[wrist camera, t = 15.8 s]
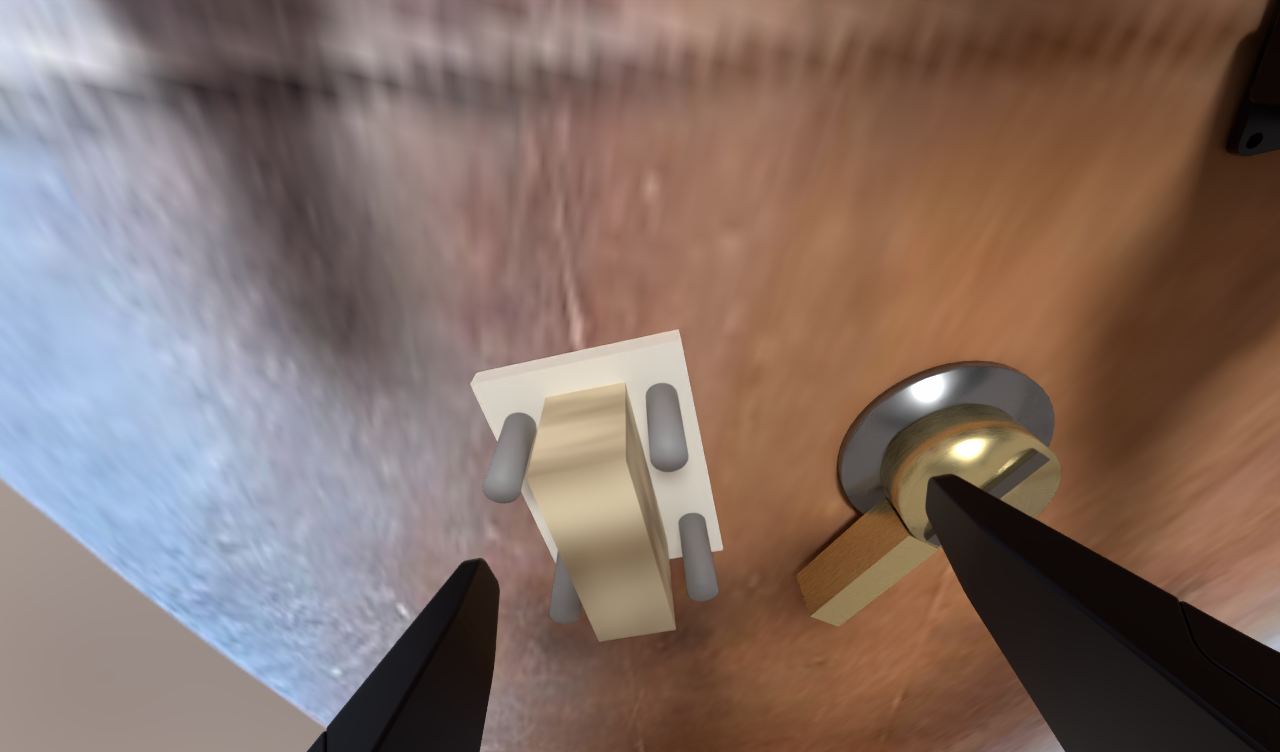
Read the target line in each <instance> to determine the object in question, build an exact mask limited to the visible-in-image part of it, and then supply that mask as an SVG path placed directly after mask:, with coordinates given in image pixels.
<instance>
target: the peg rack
mask: <svg viewBox="0 0 1280 752" xmlns="http://www.w3.org/2000/svg"><path fill="white" fill-rule="evenodd" d="M622 382H625V384H626V387H627V391H628V395H629V399H630V402H631V406H632V410H633V413H634V417H635V421H636V425H637V428H638V432H639V436H640V440H641V443H642V447H643V451H644V455H645V458H646V462H647V466H648V470H649V473H650V477H651V481H652V484H653V488H654V492H655V496H656V499H657V503H658V507H659V511H660V514H661V518H662V522H663V526H664V529H665V533H666V537H667V543H668V553H669V559H673V558H679V557H683V563H684V571H685V579H686V587H687V594H688V596H689V597H690V598H691V599H692V600H695V601H708V600H711V599H713V598H714V597H716V595H717V594H718V592H719V589H718V584H717V579H716V573H715V568H714V563H713V557H712V552H714V551H719V550H723V545H722V540H721V535H720V530H719V525H718V521H717V516H716V511H715V506H714V501H713V496H712V491H711V486H710V481H709V476H708V471H707V466H706V461H705V456H704V451H703V446H702V441H701V436H700V431H699V426H698V421H697V416H696V412H695V407H694V402H693V397H692V392H691V387H690V382H689V377H688V372H687V367H686V362H685V357H684V352H683V347H682V342H681V338H680V333H679V329H677V330H673V331H668V332H663V333H659V334H654V335H649V336H645V337H640V338H635V339H631V340H626V341H621V342H617V343H612V344H607V345H603V346H598V347H593V348H589V349H584V350H579V351H575V352H570V353H565V354H561V355H556V356H551V357H547V358H542V359H538V360H533V361H528V362H524V363H519V364H514V365H510V366H505V367H500V368H496V369H491V370H486V371H482V372H477V373H476V374H475V376H474V378H473V380H472V382H471V384H470V385H471V387H472V389H473V392H474V394H475V396H476V398H477V400H478V402H479V404H480V406H481V408H482V410H483V412H484V415H485V417H486V419H487V421H488V423H489V425H490V427H491V429H492V431H493V433H494V435H495V438H496V440H497V445H496V448H495V451H494V454H493V457H492V460H491V463H490V466H489V469H488V471H487V474H486V477H485V480H484V483H483V487H482V489H483V492H484V494H485V496H486V497H487V498H489V499H490V500H492V501H494V502H497V503H510V502H513V501H515V500H516V499H517V498H518V497H519V495H520V492H522V494H523V496H524V498H525V500H526V502H527V504H528V507H529V509H530V511H531V513H532V515H533V517H534V519H535V521H536V523H537V525H538V528H539V530H540V532H541V534H542V536H543V538H544V540H545V542H546V544H547V546H548V548H549V551H550V553H551V555H552V557H553V559H554V561H555V563H556V567H555V575H554V582H553V590H552V597H551V605H550V612H549V616H550V618H551V619H552V620H553V621H555V622H557V623H561V624H570V623H573V622H575V621H577V620H578V619H579V617H580V610H581V601H580V598H579V596H578V594H577V592H576V589H575V587H574V585H573V583H572V580H571V578H570V576H569V574H568V571H567V569H566V567H565V565H564V562H563V560H562V558H561V556H560V553H559V551H558V549H557V547H556V544H555V542H554V540H553V538H552V535H551V533H550V531H549V529H548V526H547V524H546V522H545V520H544V517H543V515H542V513H541V511H540V508H539V506H538V504H537V502H536V499H535V497H534V495H533V493H532V490H531V488H530V486H529V484H528V481H527V479H526V477H527V473H528V469H529V465H530V461H531V456H532V452H533V448H534V444H535V439H536V435H537V431H538V427H539V422H540V418H541V414H542V410H543V406H544V401H545V398H546V397H551V396H556V395H561V394H566V393H571V392H576V391H581V390H586V389H591V388H596V387H602V386H607V385H612V384H617V383H622Z"/></svg>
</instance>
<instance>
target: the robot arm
mask: <svg viewBox="0 0 1280 752" xmlns="http://www.w3.org/2000/svg"><path fill="white" fill-rule="evenodd" d="M1249 138H1250V139H1249ZM1248 139H1249V140H1248ZM1247 141H1248V142H1247ZM1278 149H1280V0H1279V1H1278V3H1277V6H1276V9H1275V12H1274V15H1273V17H1272V20H1271V23H1270V26H1269V28H1268V31H1267V34H1266V37H1265V39H1264V42H1263V45H1262V48H1261V50H1260V53H1259V56H1258V59H1257V61H1256V64H1255V67H1254V70H1253V72H1252V75H1251V78H1250V81H1249V83H1248V86H1247V89H1246V92H1245V95H1244V97H1243V100H1242V103H1241V106H1240V108H1239V111H1238V114H1237V117H1236V119H1235V122H1234V125H1233V128H1232V130H1231V133H1230V136H1229V139H1228V141H1227V146H1226V150H1227V153H1229V154H1231V155H1237V156H1251V155H1256V154H1260V153H1265V152H1269V151H1274V150H1278ZM925 510H926V514H927V517H928V519H929V522H930V524H931V526H932V528H933V530H934V532H935V534H936V536H937V538H938V540H939V542H940V544H941V546H942V548H943V550H944V552H945V554H946V556H947V558H948V560H949V562H950V564H951V566H952V568H953V570H954V572H955V574H956V576H957V578H958V580H959V582H960V584H961V586H962V588H963V590H964V592H965V594H966V595H967V597H968V599H969V600H970V602H971V604H972V605H973V607H974V608H975V610H976V612H977V613H978V615H979V616H980V618H981V619H982V621H983V623H984V624H985V626H986V627H987V629H988V631H989V632H990V634H991V635H992V637H993V638H994V640H995V642H996V643H997V645H998V646H999V648H1000V649H1001V651H1002V653H1003V654H1004V656H1005V657H1006V659H1007V661H1008V662H1009V664H1010V665H1011V667H1012V668H1013V670H1014V672H1015V673H1016V675H1017V676H1018V678H1019V679H1020V681H1021V683H1022V684H1023V686H1024V687H1025V689H1026V691H1027V692H1028V694H1029V695H1030V697H1031V698H1032V700H1033V702H1034V703H1035V705H1036V706H1037V708H1038V710H1039V711H1040V713H1041V714H1042V716H1043V717H1044V719H1045V721H1046V722H1047V724H1048V725H1049V727H1050V728H1051V730H1052V732H1053V733H1054V735H1055V736H1056V738H1057V740H1058V741H1059V743H1060V744H1061V746H1062V747H1063V749H1064V751H1065V752H1280V652H1278V651H1276V650H1274V649H1272V648H1270V647H1268V646H1266V645H1264V644H1262V643H1260V642H1258V641H1256V640H1255V639H1253V638H1251V637H1249V636H1247V635H1245V634H1243V633H1242V632H1240V631H1238V630H1236V629H1234V628H1232V627H1230V626H1228V625H1227V624H1225V623H1223V622H1221V621H1219V620H1217V619H1215V618H1214V617H1212V616H1210V615H1208V614H1206V613H1205V612H1203V611H1201V610H1199V609H1197V608H1196V607H1194V606H1192V605H1190V604H1188V603H1186V602H1184V601H1180V602H1179V600H1178V598H1177V597H1175V596H1174V595H1172V594H1170V593H1168V592H1166V591H1164V590H1163V589H1161V588H1159V587H1157V586H1155V585H1154V584H1152V583H1150V582H1148V581H1146V580H1145V579H1143V578H1141V577H1139V576H1137V575H1136V574H1134V573H1132V572H1130V571H1128V570H1127V569H1125V568H1123V567H1121V566H1119V565H1118V564H1116V563H1114V562H1112V561H1110V560H1109V559H1107V558H1105V557H1103V556H1101V555H1100V554H1098V553H1096V552H1094V551H1092V550H1091V549H1089V548H1087V547H1085V546H1083V545H1081V544H1080V543H1078V542H1076V541H1074V540H1072V539H1071V538H1069V537H1067V536H1065V535H1063V534H1062V533H1060V532H1058V531H1056V530H1054V529H1053V528H1051V527H1049V526H1047V525H1045V524H1044V523H1042V522H1040V521H1038V520H1036V519H1035V518H1033V517H1031V516H1029V515H1027V514H1026V513H1024V512H1022V511H1020V510H1018V509H1017V508H1015V507H1013V506H1011V505H1009V504H1008V503H1006V502H1004V501H1002V500H1000V499H998V498H997V497H995V496H993V495H991V494H989V493H988V492H986V491H984V490H982V489H980V488H979V487H977V486H975V485H973V484H971V483H970V482H968V481H966V480H964V479H962V478H961V477H959V476H957V475H954V474H943V475H937V476H932V477H930V478H929V480H928V484H927V493H926V502H925ZM499 595H500V589H499V584H498V581H497V579H496V577H495V576H494V574H493V572H492V571H491V569H490V567H489V566H488V564H487V562H486V561H485V560H484V559H483V558H477V559H471V560H466V561H464V562H462V563H461V564H460V565H459V566H458V568H457V569H456V570H455V571H454V573H453V574H452V575H451V576H450V577H449V579H448V580H447V581H446V582H445V584H444V585H443V586H442V587H441V588H440V590H439V591H438V592H437V593H436V595H435V596H434V597H433V598H432V599H431V601H430V602H429V603H428V604H427V606H426V607H425V608H424V609H423V610H422V612H421V613H420V614H419V615H418V617H417V618H416V619H415V620H414V621H413V623H412V624H411V625H410V626H409V628H408V629H407V630H406V631H405V632H404V634H403V635H402V636H401V637H400V639H399V640H398V641H397V642H396V643H395V645H394V646H393V647H392V648H391V650H390V651H389V652H388V653H387V654H386V656H385V657H384V658H383V659H382V661H381V662H380V663H379V664H378V665H377V667H376V668H375V669H374V670H373V672H372V673H371V674H370V675H369V677H368V678H367V679H366V680H365V681H364V683H363V684H362V685H361V686H360V688H359V689H358V690H357V691H356V692H355V694H354V695H353V696H352V697H351V699H350V700H349V701H348V702H347V703H346V705H345V706H344V707H343V708H342V710H341V711H340V712H339V713H338V714H337V716H336V717H335V718H334V719H333V721H332V722H331V723H330V724H329V725H328V727H327V731H324V732H323V733H322V734H321V735H320V736H319V737H318V739H317V740H316V741H315V742H314V744H313V745H312V746H311V747H310V749H309V750H308V751H307V752H480V746H481V741H482V735H483V729H484V723H485V718H486V712H487V706H488V701H489V695H490V689H491V684H492V677H493V671H494V662H495V651H496V637H497V623H498V609H499Z"/></svg>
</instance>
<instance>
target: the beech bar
mask: <svg viewBox="0 0 1280 752" xmlns="http://www.w3.org/2000/svg"><path fill="white" fill-rule="evenodd" d="M526 479H527V481H528V484H529V486H530V488H531V490H532V493H533V495H534V497H535V499H536V502H537V504H538V506H539V508H540V511H541V513H542V515H543V517H544V520H545V522H546V524H547V526H548V529H549V531H550V533H551V535H552V538H553V540H554V542H555V544H556V547H557V549H558V551H559V553H560V556H561V558H562V560H563V562H564V565H565V567H566V569H567V571H568V574H569V576H570V578H571V580H572V583H573V585H574V587H575V589H576V592H577V594H578V596H579V598H580V601H581V603H582V605H583V607H584V610H585V612H586V614H587V616H588V619H589V621H590V623H591V625H592V627H593V630H594V632H595V634H596V636H597V639H598V641H599V642H600V641H607V640H613V639H620V638H626V637H633V636H639V635H646V634H652V633H659V632H665V631H672V630H676V624H675V614H674V604H673V594H672V584H671V573H670V563H669V553H668V543H667V537H666V533H665V529H664V526H663V522H662V518H661V514H660V511H659V507H658V503H657V499H656V496H655V492H654V488H653V484H652V481H651V477H650V473H649V470H648V466H647V462H646V458H645V455H644V451H643V447H642V443H641V440H640V436H639V432H638V428H637V425H636V421H635V417H634V413H633V410H632V406H631V402H630V399H629V395H628V391H627V387H626V384H625V382H622V383H617V384H612V385H607V386H602V387H596V388H591V389H586V390H581V391H576V392H571V393H566V394H561V395H556V396H551V397H546V398H545V401H544V406H543V410H542V414H541V418H540V422H539V427H538V431H537V435H536V439H535V444H534V448H533V452H532V456H531V461H530V465H529V469H528V473H527V477H526Z"/></svg>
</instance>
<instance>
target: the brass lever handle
mask: <svg viewBox="0 0 1280 752" xmlns="http://www.w3.org/2000/svg"><path fill="white" fill-rule="evenodd" d="M943 474H954V475H957V476H959V477H961V478H962V479H964V480H966V481H968V482H970V483H971V484H973V485H975V486H977V487H979V488H980V489H982V490H984V491H986V492H988V493H989V494H991V495H993V496H995V497H997V498H998V499H1000V500H1002V501H1004V502H1006V503H1008V504H1009V505H1011V506H1013V507H1015V508H1017V509H1018V510H1020V511H1022V512H1024V513H1026V514H1027V515H1029V516H1031V517H1033V518H1035V517H1036V516H1037V515H1038V514H1039V513H1040V512H1042V511H1043V510H1044V508H1045V507H1046V506H1047V505H1048V504H1049V502H1050V501H1051V500H1052V498H1053V497H1054V495H1055V493H1056V491H1057V489H1058V486H1059V483H1060V478H1061V467H1060V464H1059V461H1058V459H1057V457H1056V456H1055V454H1054V453H1053V452H1052V451H1051V450H1050V449H1049V448H1048V447H1046V446H1045V445H1044V444H1043V443H1042V442H1041V441H1040V440H1038V439H1037V438H1036V437H1035V436H1034V435H1033V434H1032V433H1030V432H1029V431H1028V430H1027V429H1026V428H1025V427H1023V426H1022V425H1021V424H1020V423H1019V422H1018V421H1017V420H1015V419H1014V418H1013V417H1012V416H1011V415H1010V414H1008V413H1007V412H1006V411H1004V410H1002V409H1000V408H997V407H994V406H991V405H985V404H962V405H956V406H951V407H948V408H944V409H941V410H938V411H936V412H933V413H931V414H929V415H927V416H925V417H923V418H921V419H919V420H918V421H916V422H915V423H913V424H912V425H910V426H909V427H908V428H906V429H905V430H904V431H903V432H902V433H901V434H900V435H899V436H898V437H897V438H896V439H895V440H894V441H893V442H892V444H891V445H890V446H889V448H888V449H887V451H886V453H885V454H884V457H883V459H882V462H881V466H880V474H879V475H880V482H881V485H882V487H883V489H884V491H885V493H886V494H887V496H888V497H889V498H887V497H884V498H882V499H881V500H880V501H879V502H878V503H877V504H876V505H875V506H873V507H872V508H871V509H870V510H869V511H868V512H867V513H865V514H864V515H863V516H862V517H861V518H860V519H859V520H858V521H856V522H855V523H854V524H853V525H852V526H851V527H850V528H849V529H847V530H846V531H845V532H844V533H843V534H842V535H841V536H840V537H838V538H837V539H836V540H835V541H834V542H833V543H832V544H831V545H829V546H828V547H827V548H826V549H825V550H824V551H823V552H822V553H820V554H819V555H818V556H817V557H816V558H815V559H814V560H813V561H811V562H810V563H809V564H808V565H807V566H806V567H805V568H804V569H802V570H801V571H800V572H799V573H798V574H797V575H796V577H797V580H798V583H799V586H800V589H801V591H802V594H803V597H804V600H805V603H806V606H807V609H808V611H809V614H810V616H811V617H813V618H816V619H819V620H821V621H824V622H827V623H830V624H832V625H835V626H838V627H839V626H840V625H842V624H843V623H844V622H846V621H847V620H848V619H849V618H851V617H852V616H853V615H855V614H856V613H857V612H858V611H860V610H861V609H862V608H864V607H865V606H866V605H868V604H869V603H870V602H871V601H873V600H874V599H875V598H877V597H878V596H879V595H880V594H882V593H883V592H884V591H886V590H887V589H888V588H890V587H891V586H892V585H893V584H895V583H896V582H897V581H899V580H900V579H901V578H902V577H904V576H905V575H906V574H908V573H909V572H910V571H912V570H913V569H914V568H915V567H917V566H918V565H919V564H921V563H922V562H923V561H924V560H926V559H927V558H928V557H930V556H931V555H932V554H934V553H935V552H936V551H937V550H939V549H938V547H942V546H941V544H940V542H939V540H938V538H937V536H936V534H935V532H934V530H933V528H932V526H931V524H930V522H929V519H928V517H927V514H926V510H925V502H926V493H927V484H928V480H929V478H930V477H932V476H937V475H943Z"/></svg>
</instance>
